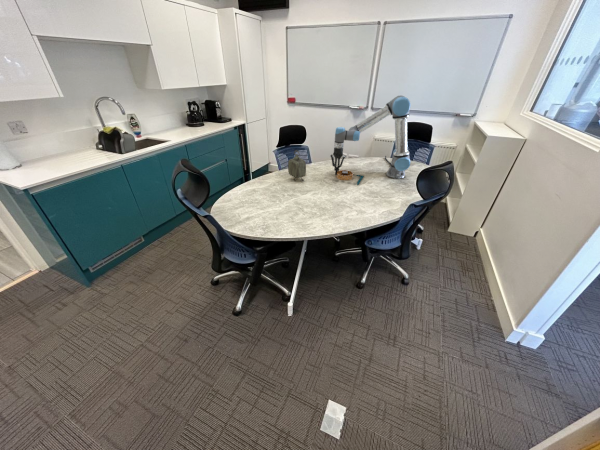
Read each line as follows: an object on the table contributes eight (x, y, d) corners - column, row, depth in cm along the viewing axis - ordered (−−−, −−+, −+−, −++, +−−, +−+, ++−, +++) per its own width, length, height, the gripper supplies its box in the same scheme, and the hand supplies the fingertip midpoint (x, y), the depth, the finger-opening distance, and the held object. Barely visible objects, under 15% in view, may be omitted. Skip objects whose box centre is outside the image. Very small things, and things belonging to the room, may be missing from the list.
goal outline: (340, 172, 225) (340, 172, 225) (363, 176, 217) (363, 175, 217) (333, 180, 208) (333, 180, 208) (358, 185, 201) (358, 184, 201)
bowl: (339, 173, 222) (339, 169, 219) (354, 176, 217) (355, 171, 215) (334, 179, 211) (334, 174, 209) (350, 181, 206) (351, 176, 204)
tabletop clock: (305, 181, 207) (306, 151, 193) (296, 184, 202) (296, 153, 189) (296, 176, 217) (296, 147, 203) (287, 178, 212) (286, 149, 199)
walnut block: (341, 176, 216) (342, 171, 214) (347, 176, 215) (347, 171, 213) (341, 177, 212) (342, 172, 210) (347, 178, 212) (347, 173, 209)
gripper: (329, 147, 202) (327, 174, 215) (345, 149, 198) (342, 177, 211) (332, 145, 208) (330, 171, 221) (347, 147, 204) (344, 174, 216)
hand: (336, 174), depth 216 cm, fingers closed
